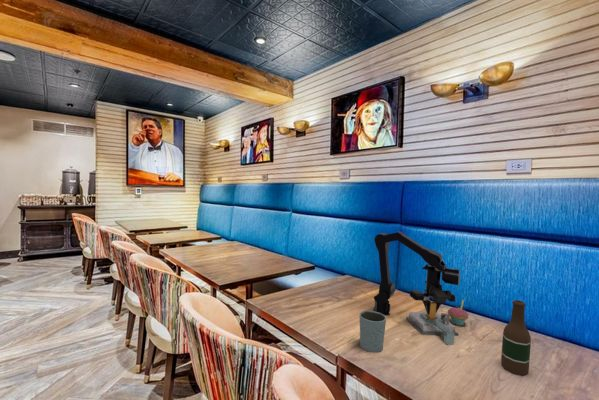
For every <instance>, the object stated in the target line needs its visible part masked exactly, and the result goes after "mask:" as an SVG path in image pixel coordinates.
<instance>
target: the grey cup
mask: <svg viewBox="0 0 599 400" xmlns="http://www.w3.org/2000/svg"><path fill="white" fill-rule="evenodd" d="M358 315H359V341H360V342H359V346H360V347H361V349H363V350H364V351H367V352H369V353H376V354H377V353H381V352H382V351H383V349H384V342H385V334H386V333H385V331H386V324H387V315H383V314H381V313H379V312H375V311H374V310H363V311H360V312H359V314H358Z"/></svg>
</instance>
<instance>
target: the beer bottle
mask: <svg viewBox="0 0 599 400" xmlns="http://www.w3.org/2000/svg"><path fill="white" fill-rule="evenodd" d="M511 304H512V308H511V310H512V311H511V316H510V317H511V318H510V321H509V323H507V324H506V325H505V327H504V328H503V331H502V332H503V333H502V340H501V342H502V343H501V357H500V361H501V362H500V365H501V366H502V367H503V368H504V370H506V371H508V372H509V373H511V374H513V375H518V376H521V377H524V376H527V374H529V371H530V356H531V345H532V344H531V342H532V337H531V334H530V331H529V329H528V328H527V327H526V316H525V314H526V313H525V312H526V311H525V310H526V309H525V307H526V306H527V304H526V303H525V302H524V301H522V300H520V299H514V300H512V302H511Z"/></svg>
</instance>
